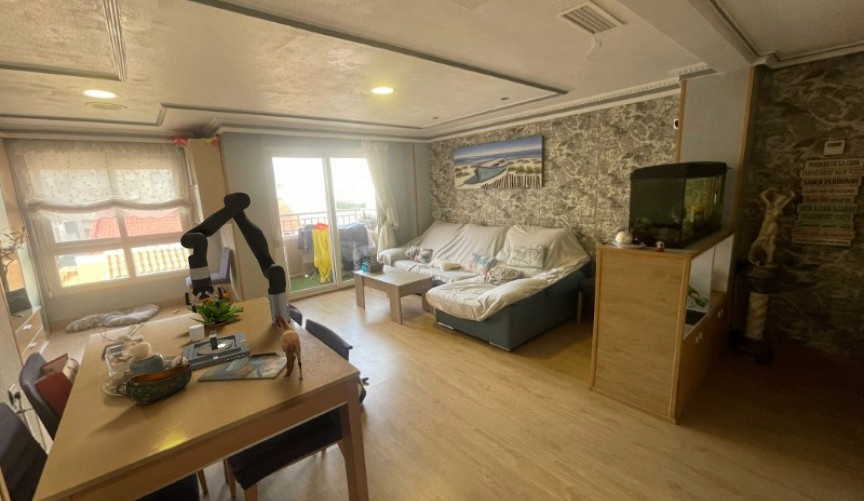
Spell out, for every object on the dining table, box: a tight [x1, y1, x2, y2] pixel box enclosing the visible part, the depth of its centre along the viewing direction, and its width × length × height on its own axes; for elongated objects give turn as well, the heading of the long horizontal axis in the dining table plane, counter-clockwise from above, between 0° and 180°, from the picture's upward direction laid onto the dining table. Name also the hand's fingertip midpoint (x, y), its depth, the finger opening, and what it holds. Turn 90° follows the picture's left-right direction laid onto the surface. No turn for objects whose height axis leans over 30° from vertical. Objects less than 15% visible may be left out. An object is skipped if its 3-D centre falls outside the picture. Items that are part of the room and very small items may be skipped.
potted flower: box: [186, 292, 245, 328], centre depth 198 cm, size 25×24×18 cm
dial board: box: [181, 331, 250, 370], centre depth 163 cm, size 26×26×4 cm
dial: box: [197, 329, 233, 355], centre depth 162 cm, size 14×14×7 cm
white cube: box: [187, 323, 205, 342], centre depth 180 cm, size 7×7×7 cm
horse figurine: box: [274, 314, 304, 379], centre depth 140 cm, size 31×8×21 cm, turn 26°
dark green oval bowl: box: [115, 364, 193, 406], centre depth 129 cm, size 13×20×10 cm, turn 109°
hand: (207, 310), depth 160 cm, fingers open, 8 cm apart
